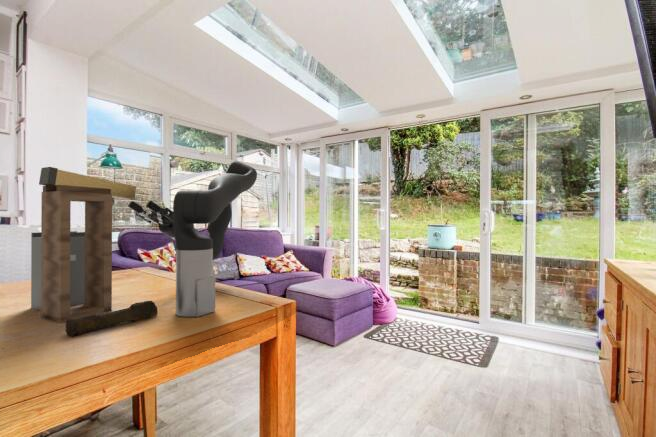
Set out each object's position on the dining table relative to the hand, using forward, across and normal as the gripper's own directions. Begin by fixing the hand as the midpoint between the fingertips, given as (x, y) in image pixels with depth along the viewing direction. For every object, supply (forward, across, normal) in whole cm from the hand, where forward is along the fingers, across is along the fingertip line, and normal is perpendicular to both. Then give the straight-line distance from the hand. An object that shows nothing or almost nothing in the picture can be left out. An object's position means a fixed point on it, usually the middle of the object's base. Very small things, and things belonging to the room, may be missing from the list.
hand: (139, 203), depth 101 cm
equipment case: (-3, -14, +33) cm, 36 cm away
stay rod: (+12, 0, +4) cm, 13 cm away
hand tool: (0, +17, +35) cm, 39 cm away
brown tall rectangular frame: (-1, 0, +34) cm, 34 cm away
